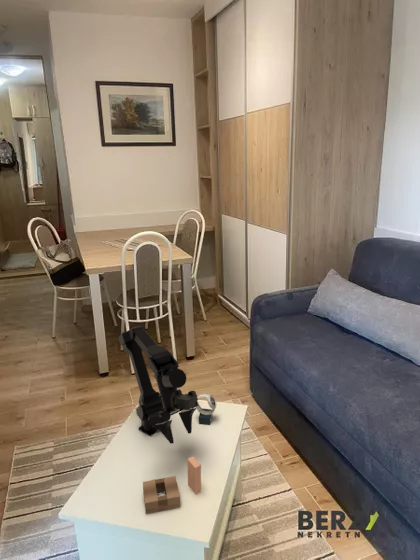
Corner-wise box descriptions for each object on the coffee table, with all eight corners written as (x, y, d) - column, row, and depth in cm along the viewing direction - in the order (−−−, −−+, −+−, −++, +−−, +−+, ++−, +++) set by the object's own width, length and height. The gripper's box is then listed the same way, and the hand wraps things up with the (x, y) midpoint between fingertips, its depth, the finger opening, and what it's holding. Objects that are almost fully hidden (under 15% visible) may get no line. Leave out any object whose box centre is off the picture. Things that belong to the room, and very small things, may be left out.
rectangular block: (188, 485, 127) (187, 458, 124) (193, 482, 128) (193, 456, 125) (195, 494, 123) (195, 467, 120) (201, 491, 124) (200, 465, 121)
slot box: (143, 492, 124) (142, 481, 123) (175, 486, 126) (175, 475, 125) (145, 514, 117) (145, 503, 116) (180, 507, 119) (180, 496, 118)
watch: (215, 425, 154) (215, 400, 150) (194, 423, 155) (193, 398, 152) (217, 416, 159) (217, 392, 156) (197, 414, 160) (196, 390, 157)
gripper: (167, 392, 120) (182, 445, 117) (203, 378, 135) (217, 425, 133) (141, 398, 125) (154, 450, 123) (178, 384, 141) (191, 429, 138)
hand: (181, 438), depth 129 cm, fingers open, 9 cm apart
